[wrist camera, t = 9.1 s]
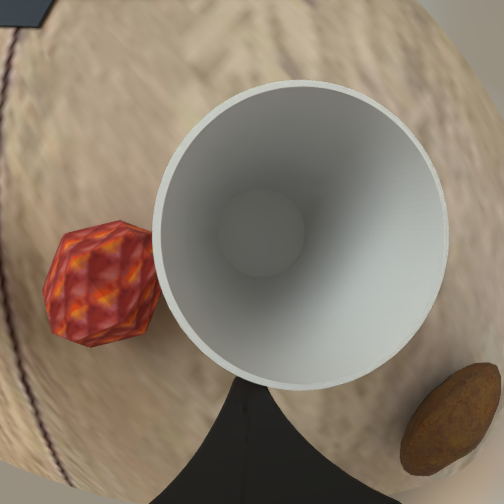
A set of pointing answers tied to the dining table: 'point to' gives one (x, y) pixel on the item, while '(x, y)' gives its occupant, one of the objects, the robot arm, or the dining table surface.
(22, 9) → the mat
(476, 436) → the potato
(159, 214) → the cup
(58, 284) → the decorative stone
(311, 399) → the dining table surface
